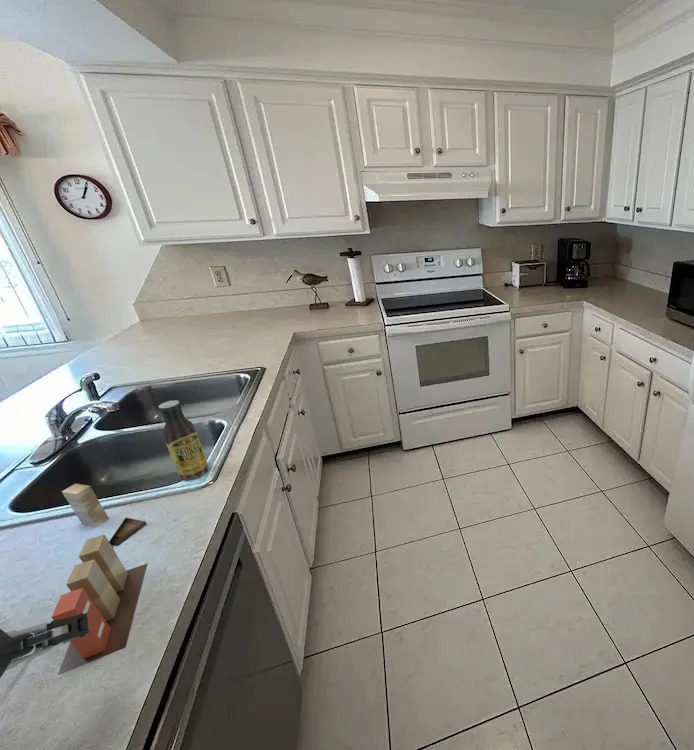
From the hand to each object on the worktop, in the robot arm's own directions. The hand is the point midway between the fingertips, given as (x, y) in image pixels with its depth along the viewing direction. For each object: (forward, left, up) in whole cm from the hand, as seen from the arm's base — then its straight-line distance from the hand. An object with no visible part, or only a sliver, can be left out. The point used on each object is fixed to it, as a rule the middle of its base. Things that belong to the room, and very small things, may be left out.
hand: (36, 643), depth 53 cm
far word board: (-13, +37, -13) cm, 41 cm away
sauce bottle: (-2, +53, -13) cm, 55 cm away
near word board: (-3, +14, -13) cm, 19 cm away
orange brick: (-2, +8, -12) cm, 15 cm away
